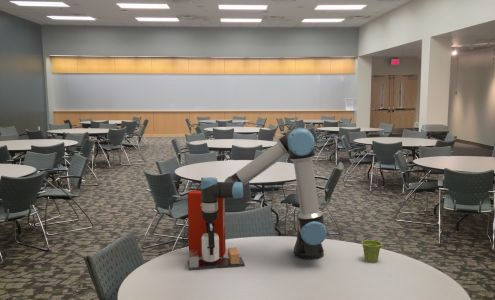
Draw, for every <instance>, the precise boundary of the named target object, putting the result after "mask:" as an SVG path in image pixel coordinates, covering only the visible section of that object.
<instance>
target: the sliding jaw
mask: <svg viewBox="0 0 495 300" xmlns="http://www.w3.org/2000/svg"><path fill="white" fill-rule="evenodd" d="M239 257H240V252H239V250H238V248H237V247H233V246H232V247H228V248H227V258H229V260H230V263H231V264H239Z"/></svg>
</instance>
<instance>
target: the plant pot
mask: <svg viewBox="0 0 495 300" xmlns="http://www.w3.org/2000/svg"><path fill="white" fill-rule="evenodd" d="M361 245H362V248H363V256H364V257H363V258H364V261H365V262H368V263H377V262H378V261H379V255H380V250H381V248H382V245H383V243H382V242H380V241H378V240H374V239H369V240H368V239H367V240H363V241H361Z"/></svg>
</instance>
